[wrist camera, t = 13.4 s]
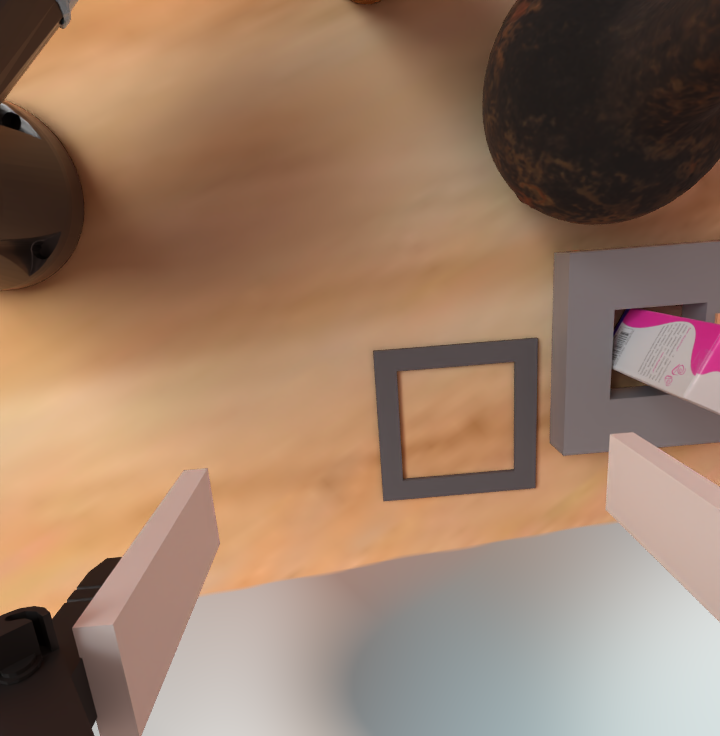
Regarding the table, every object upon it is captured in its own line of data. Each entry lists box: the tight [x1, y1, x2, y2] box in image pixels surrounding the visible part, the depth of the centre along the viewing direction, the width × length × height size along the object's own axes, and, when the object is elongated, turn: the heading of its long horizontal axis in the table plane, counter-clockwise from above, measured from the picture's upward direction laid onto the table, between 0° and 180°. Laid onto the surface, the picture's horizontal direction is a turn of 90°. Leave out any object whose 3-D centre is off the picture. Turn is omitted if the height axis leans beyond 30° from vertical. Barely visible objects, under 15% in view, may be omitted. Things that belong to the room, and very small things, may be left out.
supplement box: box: [611, 308, 720, 415], centre depth 39 cm, size 6×6×12 cm
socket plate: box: [550, 240, 720, 456], centre depth 43 cm, size 18×16×3 cm
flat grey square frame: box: [373, 338, 538, 501], centre depth 46 cm, size 15×15×1 cm
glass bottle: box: [483, 0, 720, 225], centre depth 26 cm, size 18×18×28 cm
